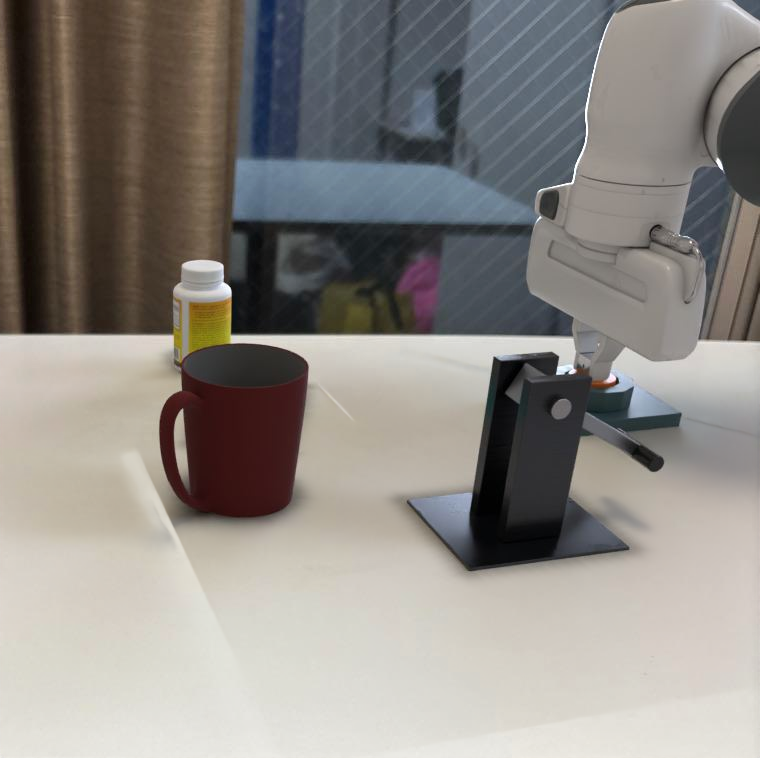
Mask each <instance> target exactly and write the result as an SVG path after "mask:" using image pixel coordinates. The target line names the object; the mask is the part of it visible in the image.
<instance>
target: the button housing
mask: <svg viewBox="0 0 760 758" xmlns="http://www.w3.org/2000/svg"><path fill="white" fill-rule="evenodd" d="M573 365H574V364H563V365H560V366H558V367H557V372H556V375H561V374H568V373H569V371H571V370H573V369H574V367H573ZM610 373H611V374H613V375H614V376H615V377H616V383H615V386H614V387H608V388H594V387H591V388H590V393H589V398H588V403H587V408H586V412H588V413H589V414H591V415H593V416H594V417H596V418H598V419H599V420H601V421H603V422H605V423H606V424H608V425H610V426H611V427H613V428H620V429H621V430H623V431H624V432H626V433H628V432H637V431H646V430H656V429H666V428H674V427H680V423H681V419H682V415H683V412H681V411H679V410H677V409H676V408H675V407H673V406H672V405H670V404H668V403H666V402H665V401H663V400H661V399H660V398H658V397H656V396H655V395H653V394H651V393H650V392H648V391H647V390H644V388H641V387H640V386H638V385H637V384H635V383H634V379H633V378H632V377H630V376H628V375H627V374H625V373H624V372H622V371H620V370H616V369H613V368H611V372H610ZM587 436H595V435H594V434H592V433H590V432H589V431H587V430H585V429H583V428H582V432H581V437H587Z"/></svg>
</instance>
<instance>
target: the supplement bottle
mask: <svg viewBox="0 0 760 758" xmlns="http://www.w3.org/2000/svg"><path fill="white" fill-rule="evenodd" d="M224 269H225V268H224V264H223V263H221V262H218V261H215V260H210V259H209V260H208V259H195V260H188V261H186V262H184V263H182V264H181V272H180V273H181V274H180V278H181V279H180V282H179V283H177V284H176V285H175V286H174V288H173V290H172V291H173V292H172V317H173V318H172V319H173V321H172V325H173V366H174V367H175V369H176V370H177V371H178V372H180V373H181V362H182V360H183V359H184V357H186V356H187V355H188V354H189V353H191V352H194V351H196V350H198V349H201V348H205V347H209V346H214V345H221V344H232V340H231V339H232V295H233V294H232V289H231V287H230V286H229V285H228V284H227V283H225V282H224V281H225V280H224V278H225V275H224Z"/></svg>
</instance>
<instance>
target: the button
mask: <svg viewBox="0 0 760 758" xmlns="http://www.w3.org/2000/svg"><path fill="white" fill-rule="evenodd" d="M572 373H580V372H578V371H577V370H575V369H573V370H571V371H569V373H568V374H572ZM615 383H616V377H615V376H614V375H613V374H611V373H610V376H609V378H608V379H607V380H605V381H595V382H594V381H592V383H591V387H594V388H608V387H614V386H615Z"/></svg>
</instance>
